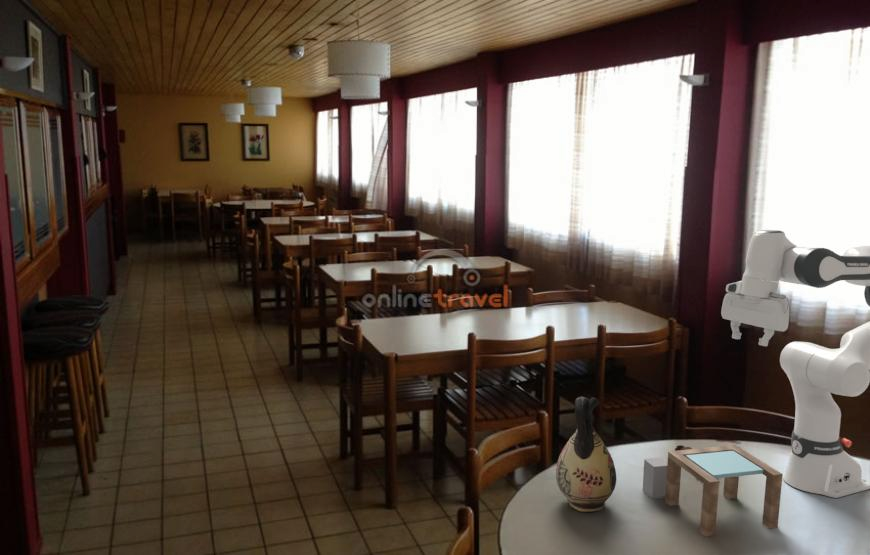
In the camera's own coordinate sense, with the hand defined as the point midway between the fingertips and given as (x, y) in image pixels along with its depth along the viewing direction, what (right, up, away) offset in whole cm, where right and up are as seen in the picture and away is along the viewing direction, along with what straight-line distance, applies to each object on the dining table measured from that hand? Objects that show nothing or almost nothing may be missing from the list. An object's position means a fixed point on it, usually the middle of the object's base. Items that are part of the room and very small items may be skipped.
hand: (749, 342), depth 193 cm
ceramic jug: (-44, -43, -2) cm, 61 cm away
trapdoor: (-10, -31, -8) cm, 33 cm away
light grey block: (-23, -41, +5) cm, 48 cm away
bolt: (-7, -39, +23) cm, 46 cm away
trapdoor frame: (-10, -43, -6) cm, 45 cm away
